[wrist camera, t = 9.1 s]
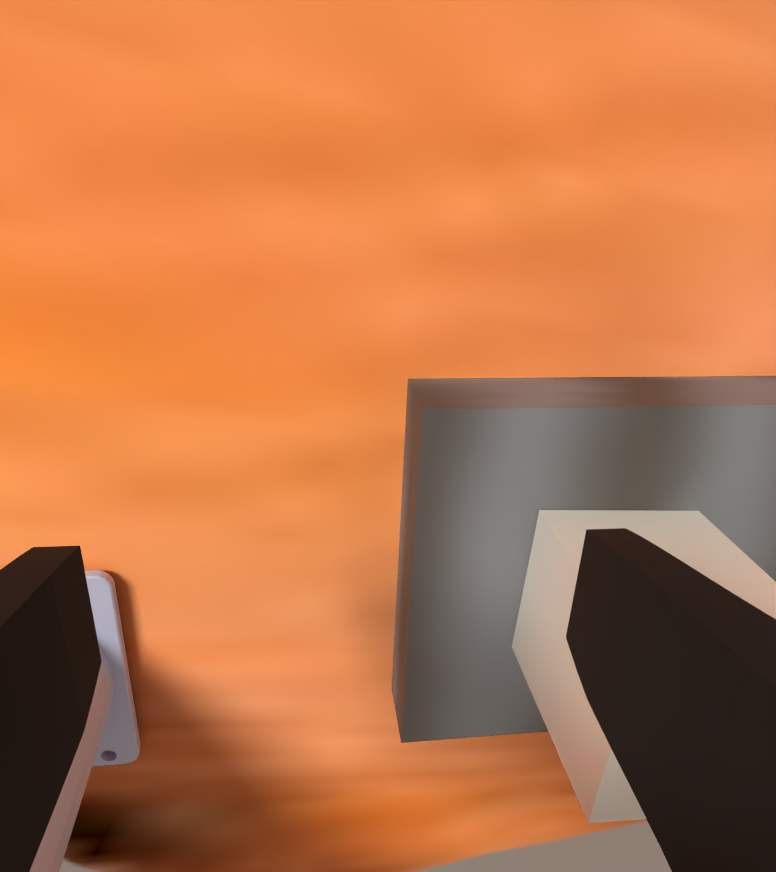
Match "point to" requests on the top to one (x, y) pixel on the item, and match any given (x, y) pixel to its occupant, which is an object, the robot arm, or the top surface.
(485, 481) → the slate panel
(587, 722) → the cream block
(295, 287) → the top surface
